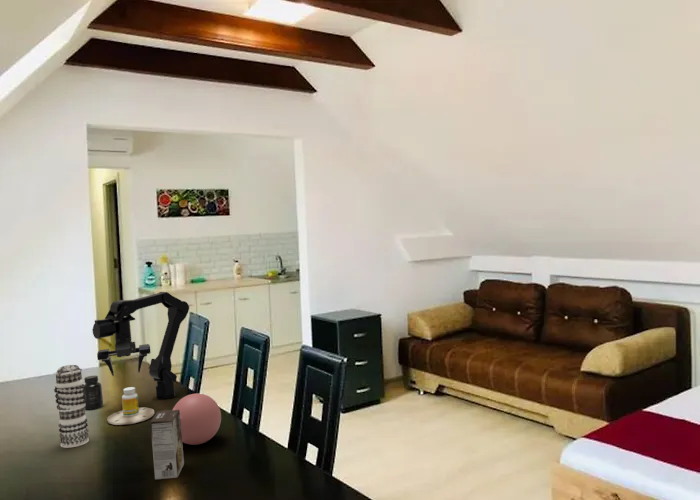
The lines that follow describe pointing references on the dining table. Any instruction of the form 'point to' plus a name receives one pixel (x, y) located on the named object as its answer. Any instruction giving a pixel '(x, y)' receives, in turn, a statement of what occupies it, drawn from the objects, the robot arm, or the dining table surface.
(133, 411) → the supplement bottle
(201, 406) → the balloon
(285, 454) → the dining table surface
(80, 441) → the decorative candle
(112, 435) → the dining table surface
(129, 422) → the turntable
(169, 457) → the coffee box
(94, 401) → the supplement bottle
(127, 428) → the dining table surface
